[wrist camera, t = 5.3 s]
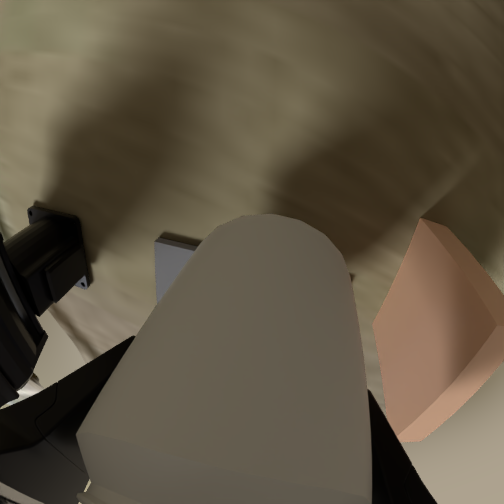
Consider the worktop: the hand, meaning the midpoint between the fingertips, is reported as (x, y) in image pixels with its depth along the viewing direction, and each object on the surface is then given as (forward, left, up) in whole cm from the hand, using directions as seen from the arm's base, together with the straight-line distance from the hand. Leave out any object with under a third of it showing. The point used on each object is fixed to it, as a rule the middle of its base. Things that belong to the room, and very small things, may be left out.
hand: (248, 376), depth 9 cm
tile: (+9, 0, -9) cm, 12 cm away
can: (0, 0, -6) cm, 6 cm away
